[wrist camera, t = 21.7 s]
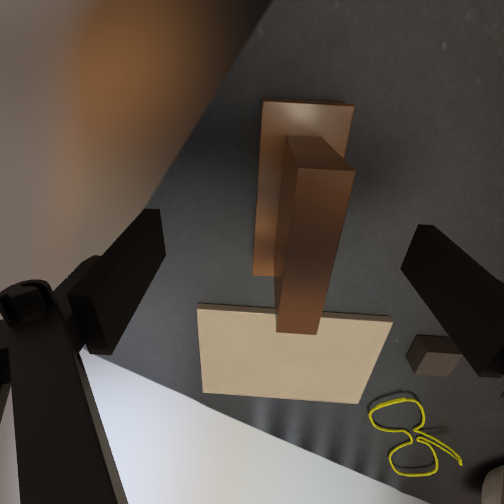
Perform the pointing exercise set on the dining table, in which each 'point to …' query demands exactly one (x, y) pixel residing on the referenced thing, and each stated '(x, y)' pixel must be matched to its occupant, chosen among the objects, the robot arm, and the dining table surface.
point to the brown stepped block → (301, 204)
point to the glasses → (411, 437)
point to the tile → (287, 354)
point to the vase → (493, 486)
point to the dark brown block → (433, 355)
